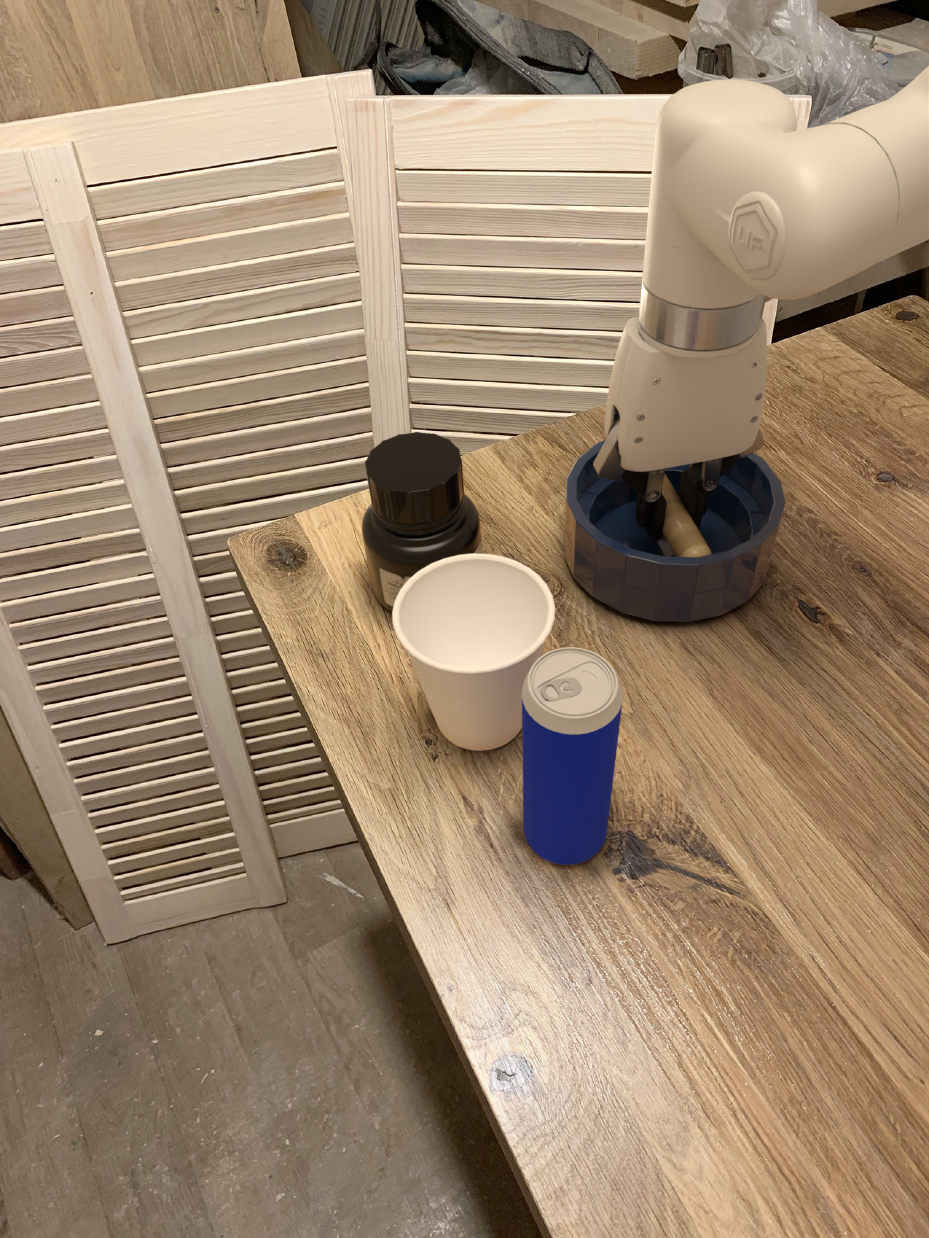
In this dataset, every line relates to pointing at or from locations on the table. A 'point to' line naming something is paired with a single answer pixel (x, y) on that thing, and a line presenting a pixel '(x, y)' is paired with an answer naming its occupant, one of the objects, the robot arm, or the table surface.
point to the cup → (474, 642)
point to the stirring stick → (681, 526)
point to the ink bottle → (415, 510)
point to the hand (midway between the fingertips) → (668, 524)
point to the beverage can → (569, 753)
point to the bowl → (648, 570)
